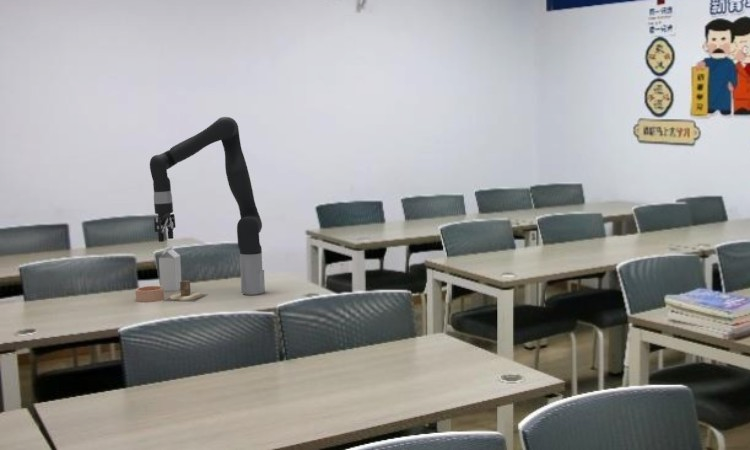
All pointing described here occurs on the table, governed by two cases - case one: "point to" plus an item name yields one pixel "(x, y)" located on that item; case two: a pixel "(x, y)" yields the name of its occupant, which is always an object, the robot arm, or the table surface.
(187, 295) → the lid
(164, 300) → the mat
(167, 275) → the milk carton
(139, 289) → the bowl
